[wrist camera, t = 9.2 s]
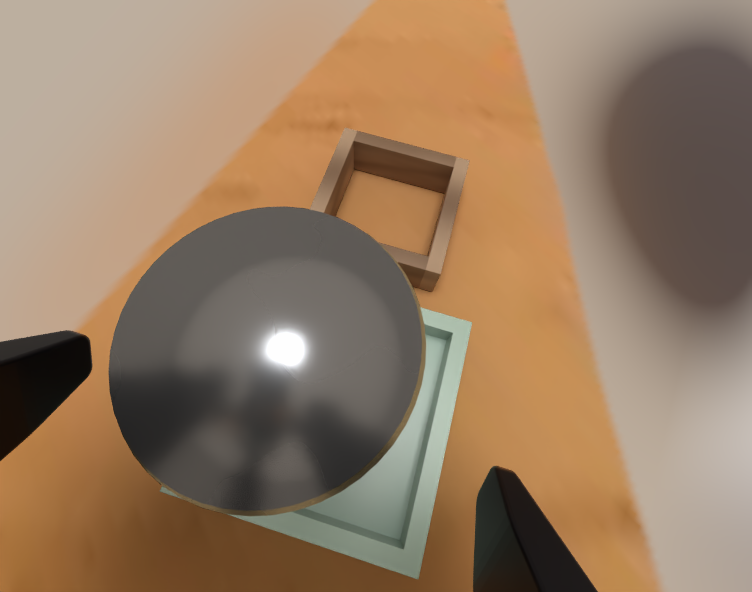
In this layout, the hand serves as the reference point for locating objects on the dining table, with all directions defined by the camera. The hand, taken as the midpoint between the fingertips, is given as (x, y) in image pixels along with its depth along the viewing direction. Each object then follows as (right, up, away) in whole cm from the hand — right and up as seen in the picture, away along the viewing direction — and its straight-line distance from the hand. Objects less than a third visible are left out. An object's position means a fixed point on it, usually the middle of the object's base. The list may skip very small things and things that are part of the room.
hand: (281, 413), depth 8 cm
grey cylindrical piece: (0, -3, +10) cm, 11 cm away
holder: (+3, +7, +15) cm, 17 cm away
